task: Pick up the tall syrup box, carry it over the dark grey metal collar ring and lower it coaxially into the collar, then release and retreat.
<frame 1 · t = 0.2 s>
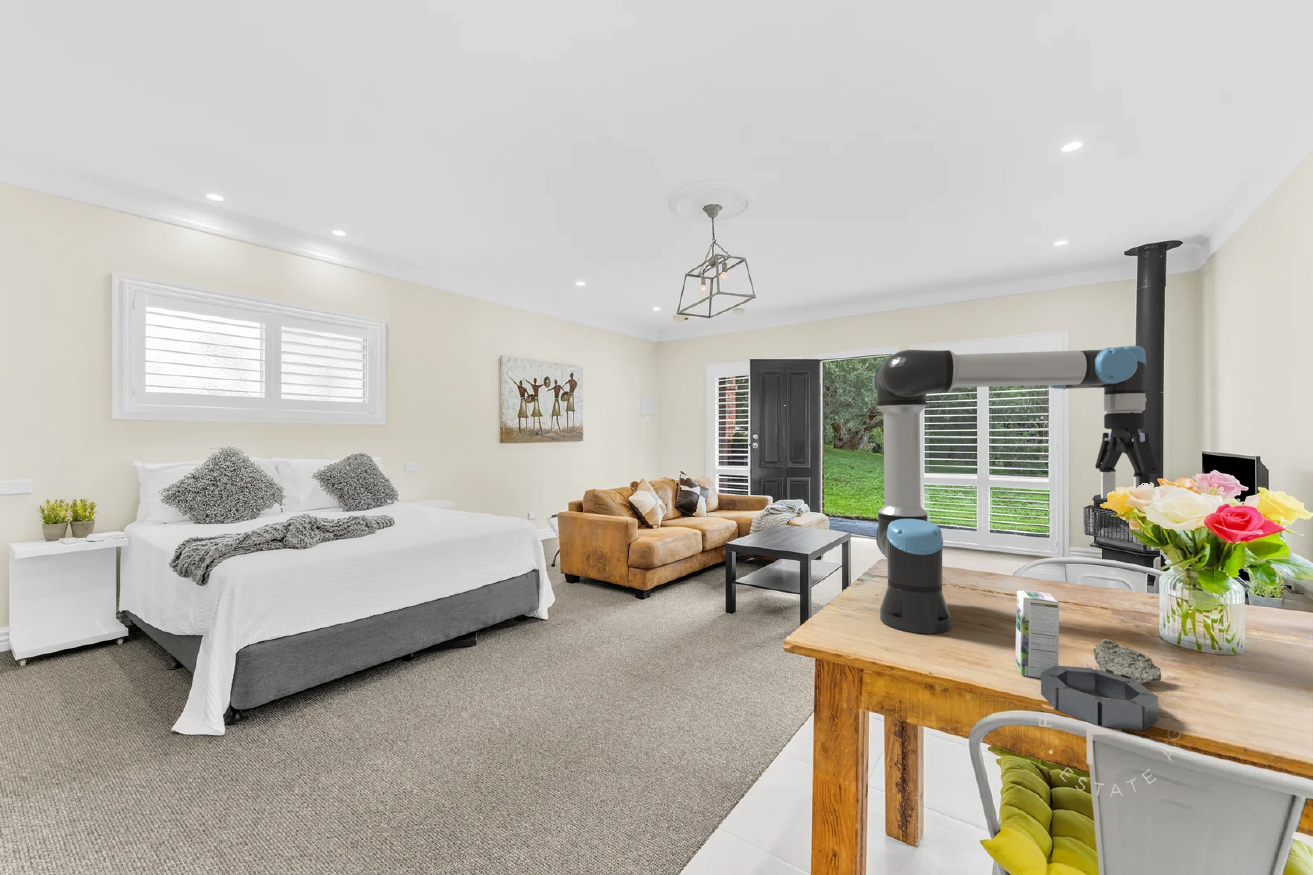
hand: (1124, 502, 131), 28 cm above the table, fingers open, 13 cm apart
rock sample: (1129, 682, 99), on the table
collar: (1096, 705, 90), on the table
syrup box: (1036, 673, 103), on the table
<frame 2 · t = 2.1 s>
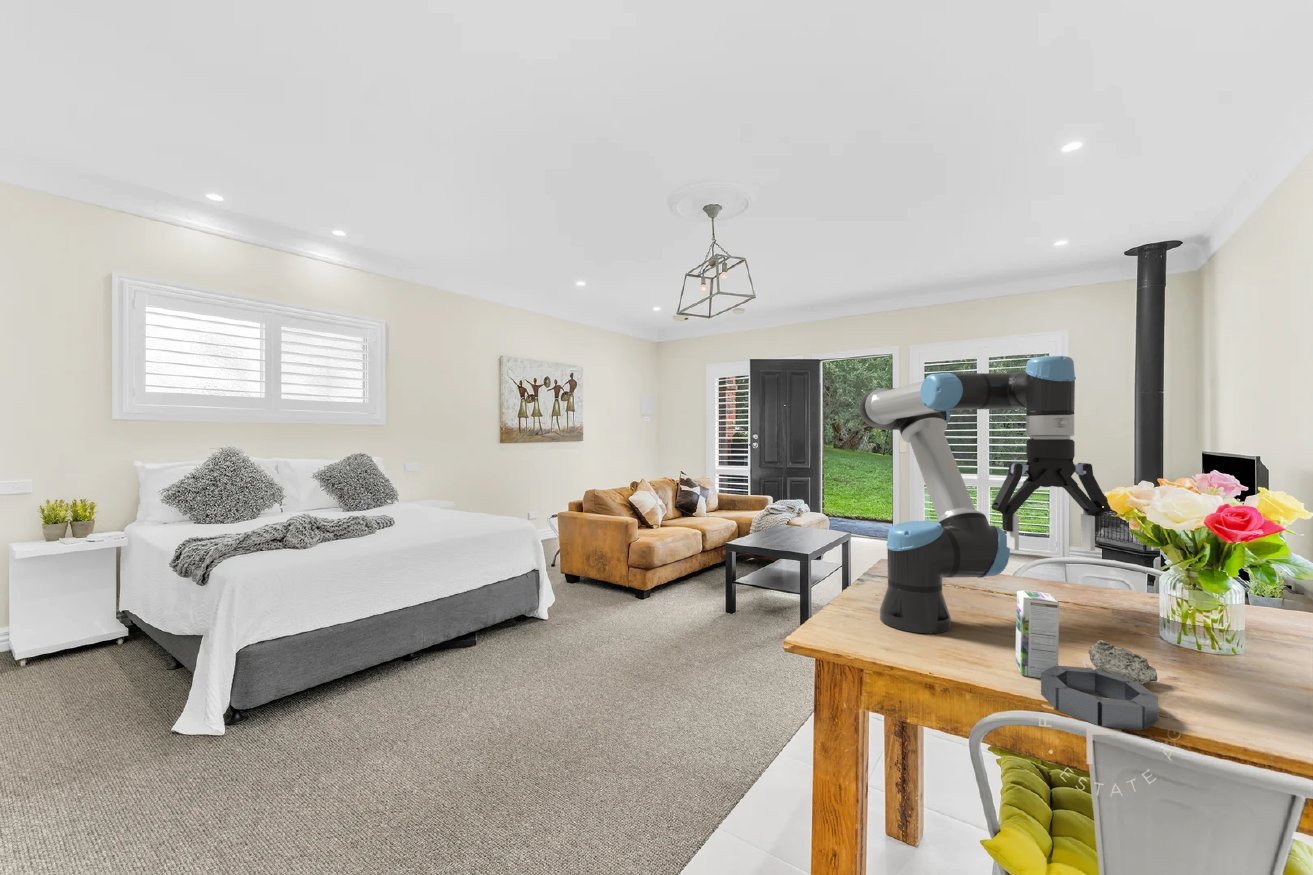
hand: (1050, 549, 106), 22 cm above the table, fingers open, 13 cm apart
rock sample: (1126, 683, 99), on the table
everything else where it was.
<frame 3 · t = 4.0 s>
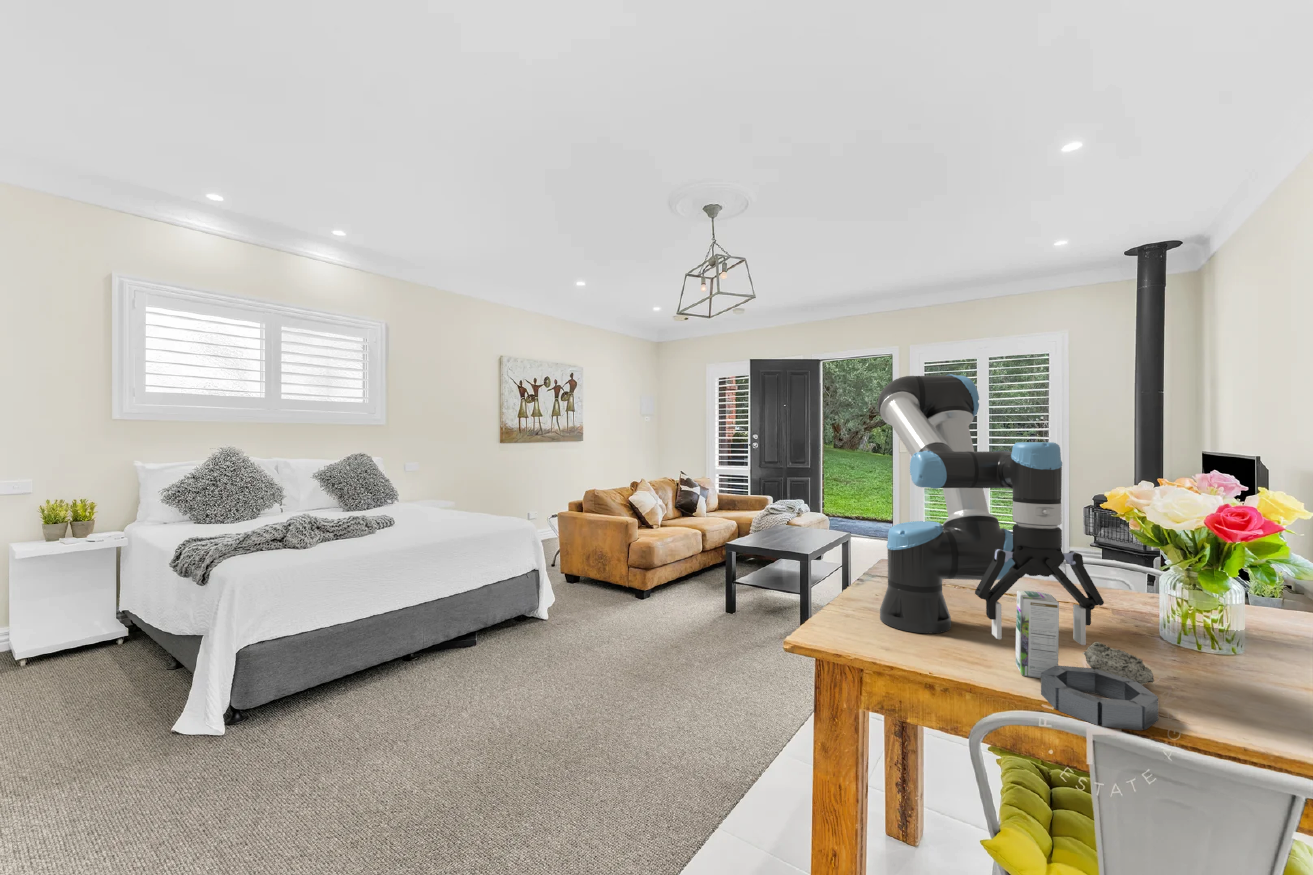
hand: (1037, 639, 102), 6 cm above the table, fingers open, 13 cm apart
rock sample: (1123, 685, 98), on the table
everything else where it was.
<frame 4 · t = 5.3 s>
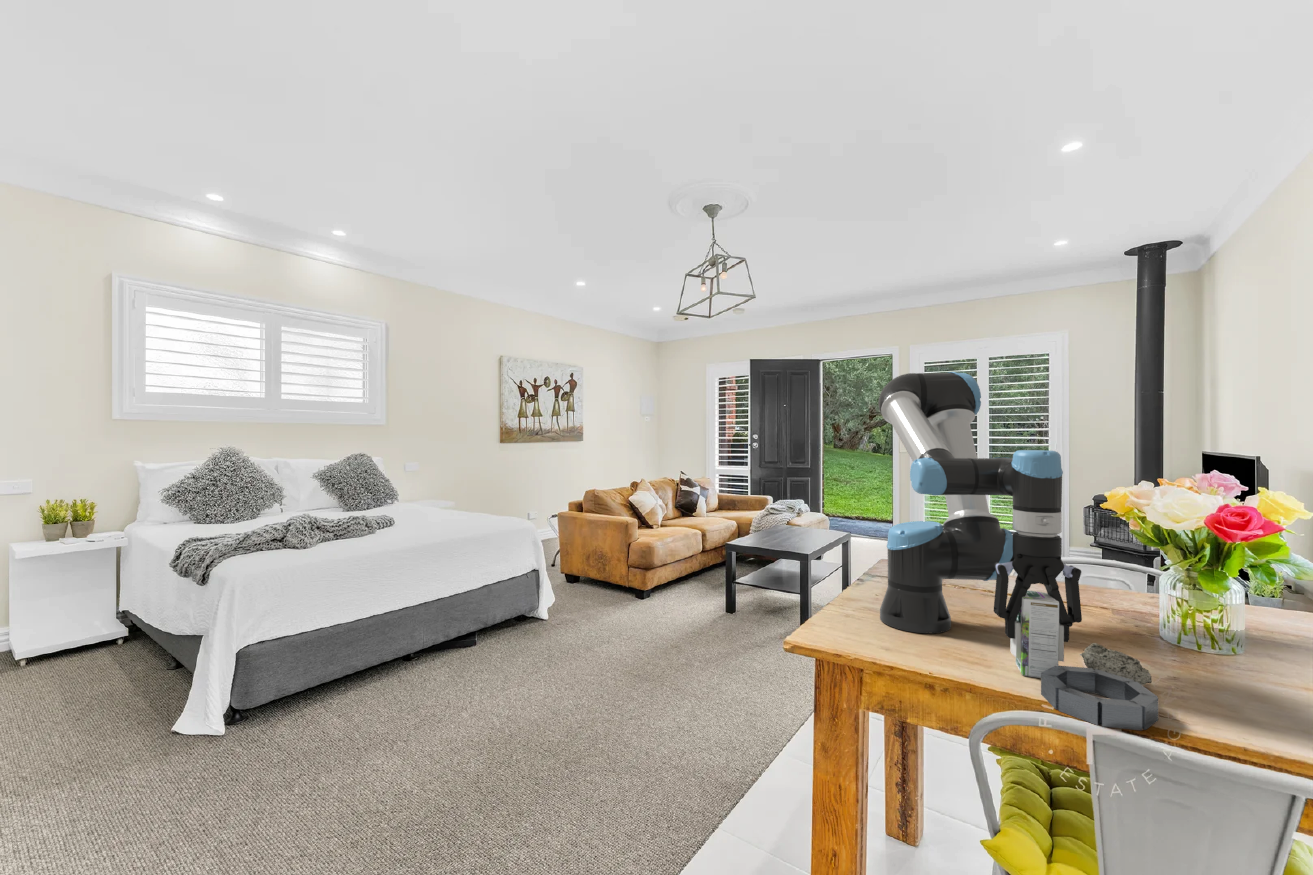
hand: (1036, 656, 103), 3 cm above the table, fingers closed on syrup box, 6 cm apart
syrup box: (1036, 673, 103), on the table, touching gripper
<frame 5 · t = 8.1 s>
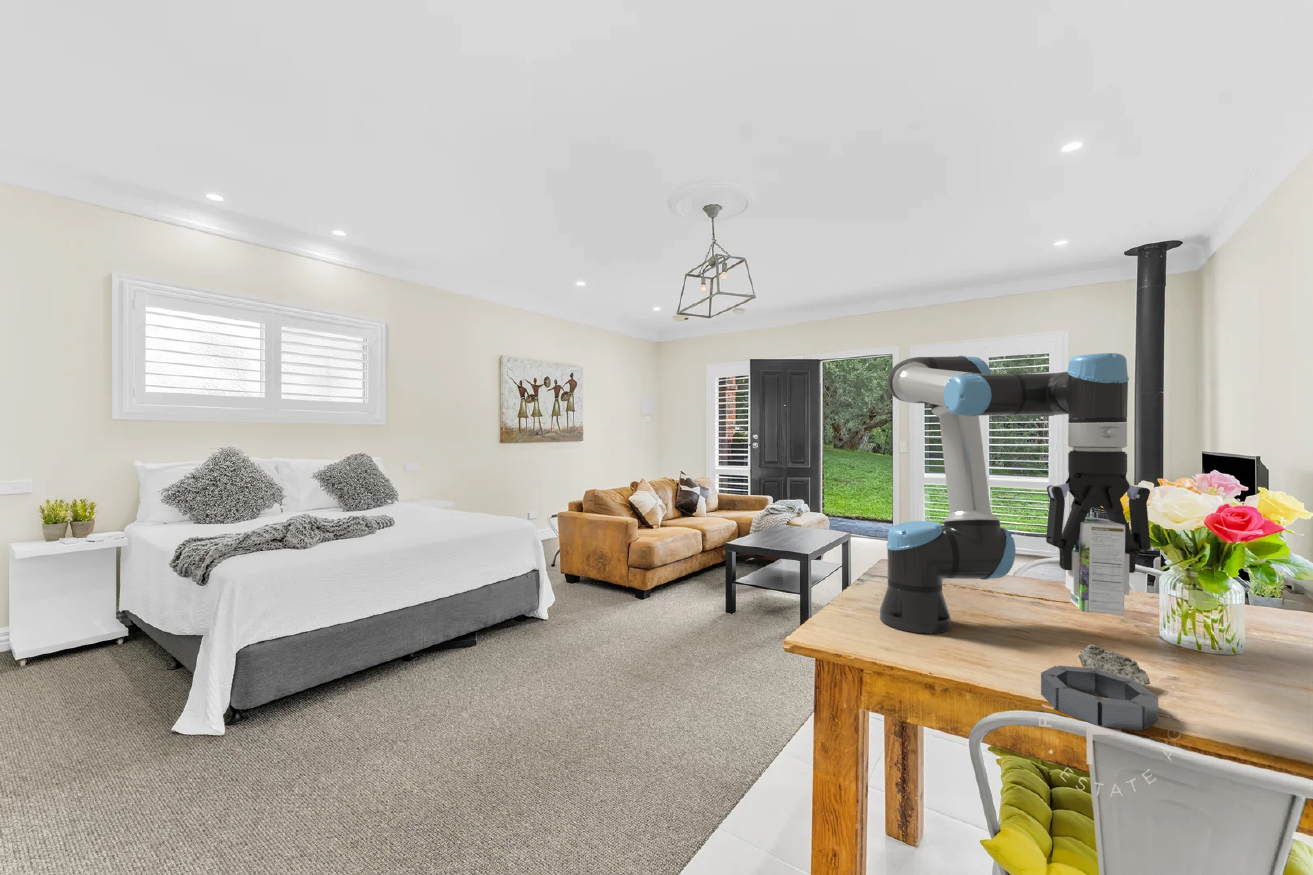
hand: (1096, 590, 90), 19 cm above the table, fingers closed on syrup box, 6 cm apart
rock sample: (1119, 688, 97), on the table
syrup box: (1096, 609, 90), point 16 cm above the table, touching gripper
when the fingers open (5 cm above the table, at t = 11.2 s): syrup box drops 2 cm, resting in collar.
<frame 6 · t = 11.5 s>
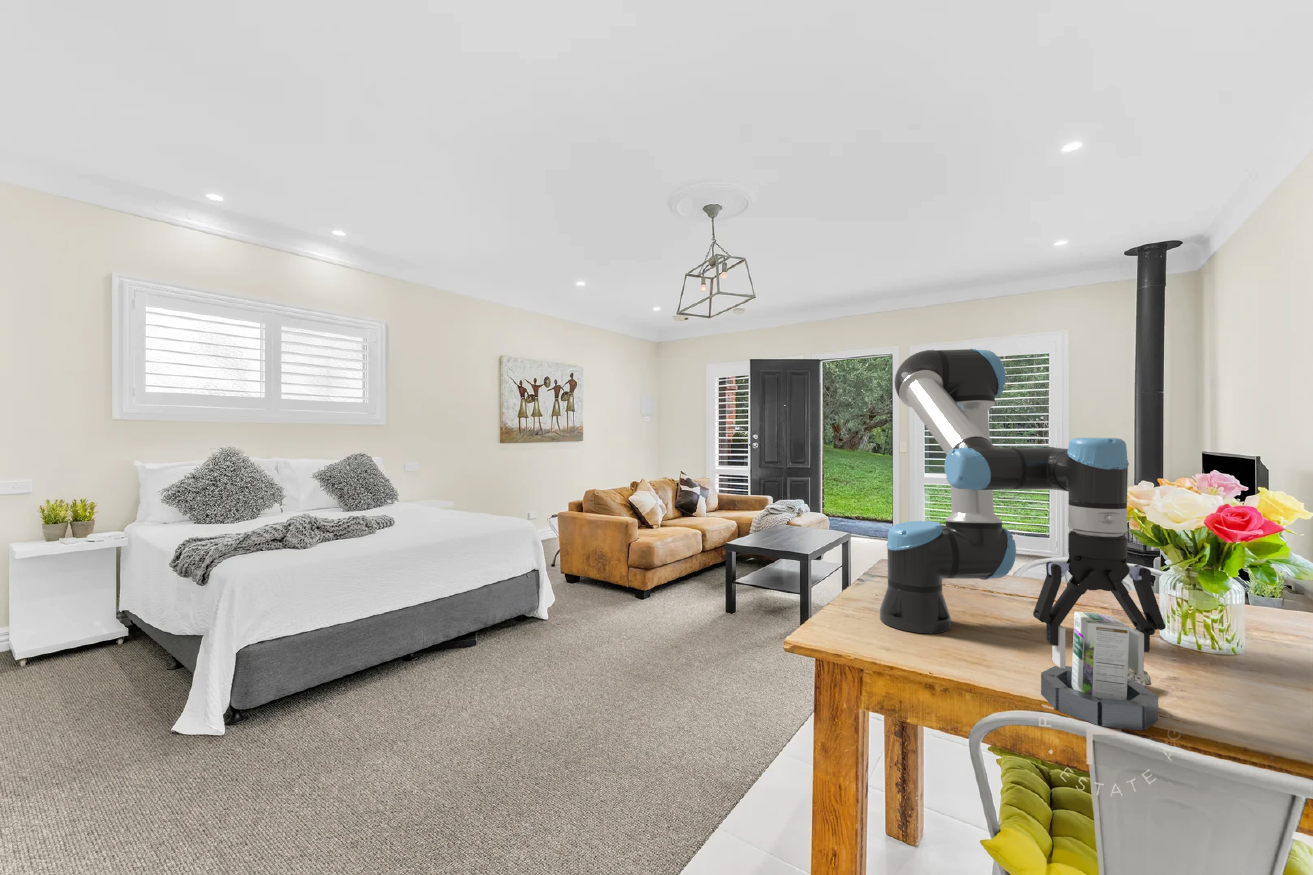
hand: (1096, 667, 90), 6 cm above the table, fingers open, 10 cm apart
syrup box: (1098, 706, 90), resting in collar
everything else where it was.
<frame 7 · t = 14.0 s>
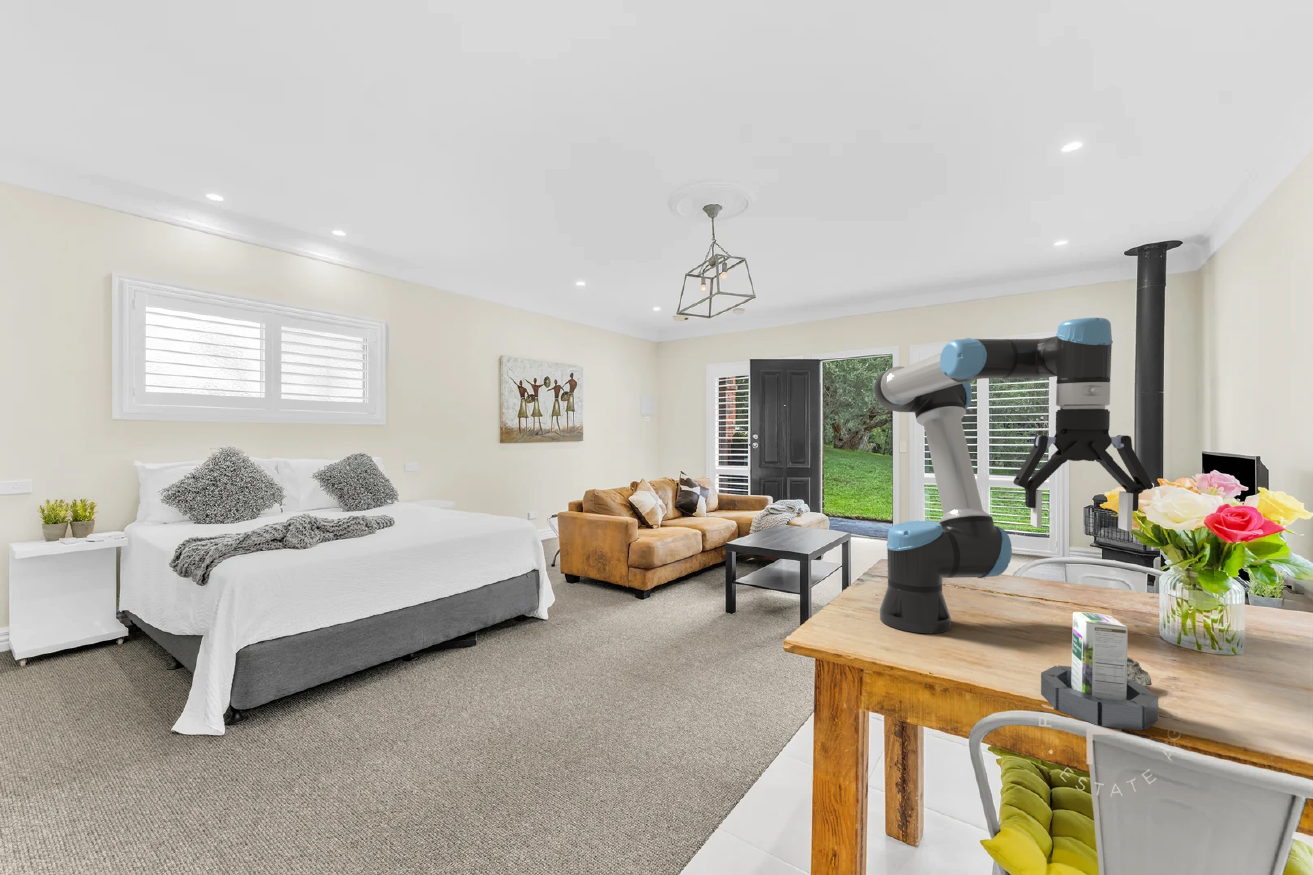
hand: (1079, 528, 98), 28 cm above the table, fingers open, 13 cm apart
nothing on the table moved.
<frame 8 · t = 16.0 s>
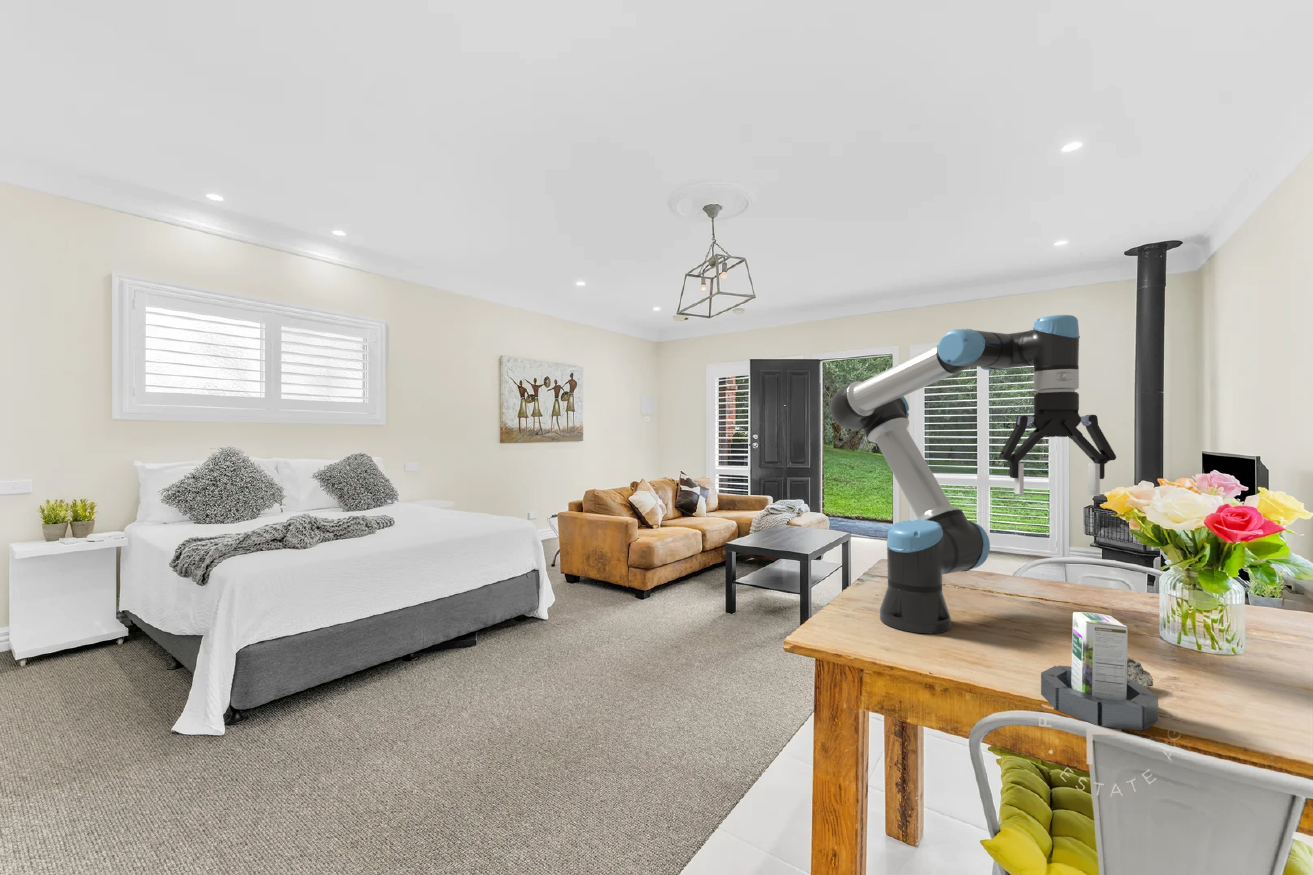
hand: (1055, 494, 114), 32 cm above the table, fingers open, 13 cm apart
nothing on the table moved.
at the end: syrup box 0.2 cm from the collar (horizontally); syrup box tilted 0°; syrup box touching table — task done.
